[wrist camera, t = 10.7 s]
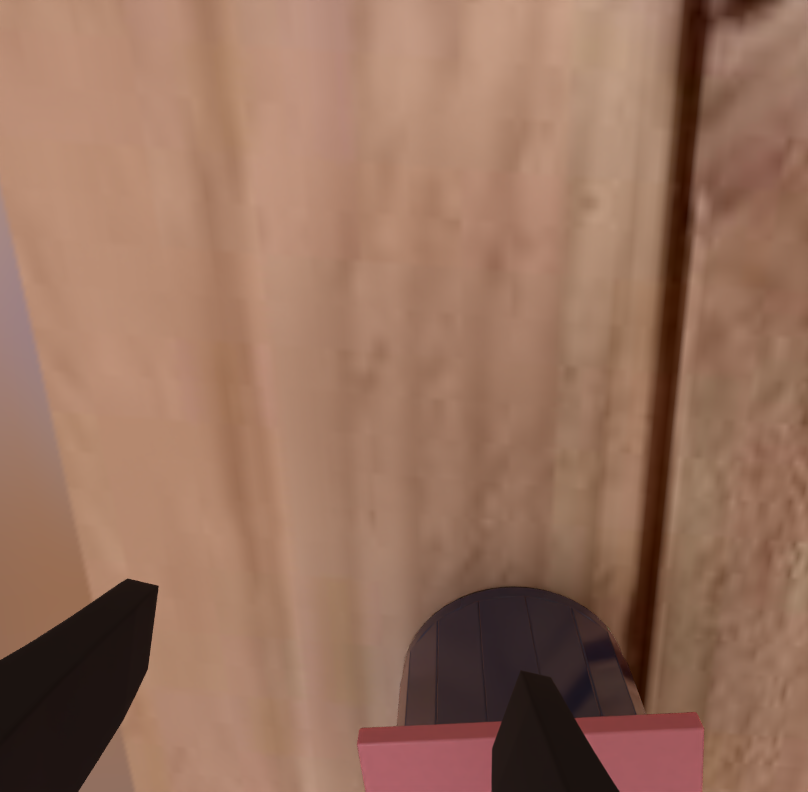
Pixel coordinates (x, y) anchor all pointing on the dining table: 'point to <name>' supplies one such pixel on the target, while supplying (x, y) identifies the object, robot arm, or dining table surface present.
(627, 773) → the pink square knobbed lid
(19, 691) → the robot arm
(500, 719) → the dark faceted cylinder
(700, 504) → the dining table surface
